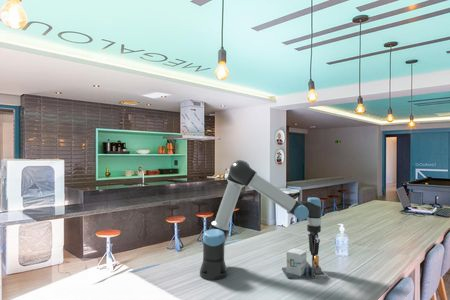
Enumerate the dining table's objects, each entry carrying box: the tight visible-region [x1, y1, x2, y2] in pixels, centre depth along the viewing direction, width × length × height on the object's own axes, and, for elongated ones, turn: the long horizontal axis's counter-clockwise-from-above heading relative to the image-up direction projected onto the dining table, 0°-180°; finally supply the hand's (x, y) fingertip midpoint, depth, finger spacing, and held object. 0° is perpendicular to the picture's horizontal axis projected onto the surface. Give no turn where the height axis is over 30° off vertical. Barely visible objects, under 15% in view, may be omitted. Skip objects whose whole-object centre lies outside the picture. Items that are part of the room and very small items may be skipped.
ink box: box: [286, 247, 307, 276], centre depth 171 cm, size 8×8×12 cm
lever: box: [311, 255, 322, 274], centre depth 173 cm, size 4×4×9 cm
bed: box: [281, 260, 315, 280], centre depth 171 cm, size 14×13×5 cm
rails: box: [314, 269, 329, 280], centre depth 172 cm, size 7×16×2 cm, turn 3°
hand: (313, 265), depth 178 cm, fingers closed
